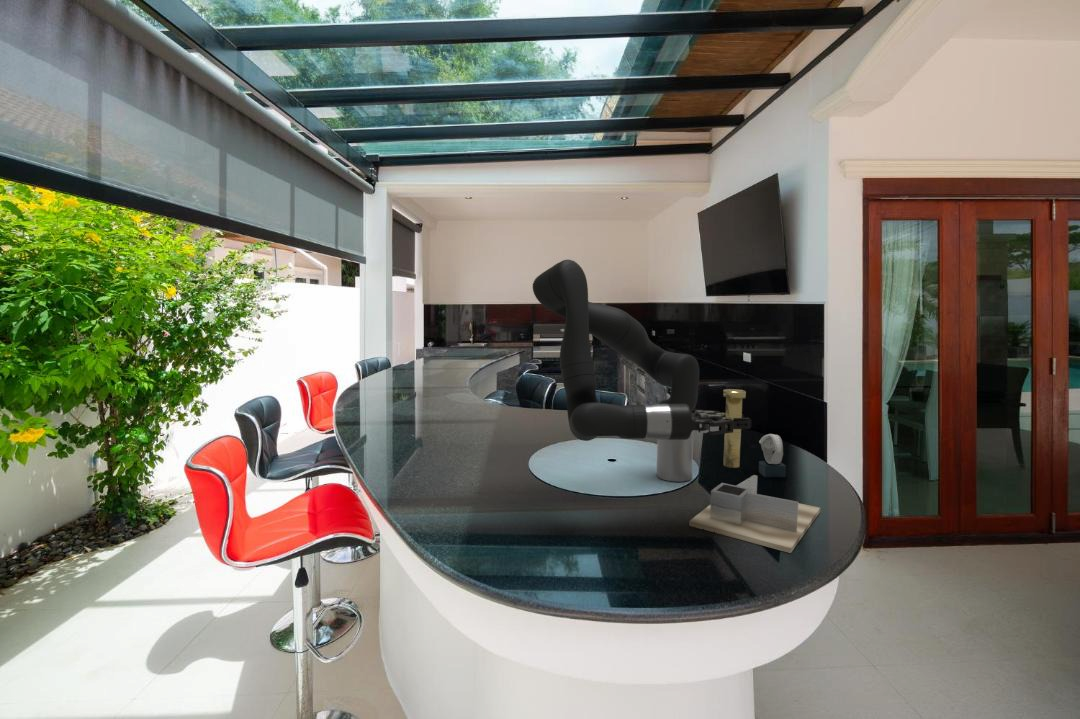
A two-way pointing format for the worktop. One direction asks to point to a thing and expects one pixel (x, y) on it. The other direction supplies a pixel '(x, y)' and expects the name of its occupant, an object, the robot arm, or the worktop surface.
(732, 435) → the hinge pin
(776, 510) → the hinge
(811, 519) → the board
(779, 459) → the watch
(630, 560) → the worktop surface
